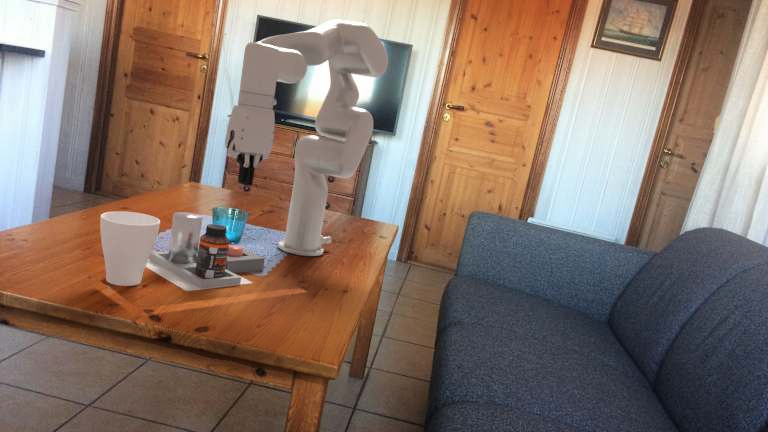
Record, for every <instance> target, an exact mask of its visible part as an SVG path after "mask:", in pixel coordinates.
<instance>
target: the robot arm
mask: <svg viewBox="0 0 768 432" xmlns="http://www.w3.org/2000/svg"><path fill="white" fill-rule="evenodd" d="M327 61H328V69H329V77H330V78H329V79H330V84H329V88H328V92H327V93H326V96H325V98H324V100H323V103H322V104H321V106H320V109H319V111H318V113H317V115H316V117H315V121H314V129H315V130H316V132H317V133H318V134H319V135H314V134H311V135H304V136H302V137H300V139H299V140H298V141H297V142H296V145H295V148H294V178H293V186H292V192H291V198H290V204H289V210H288V215H287V221H286V222H287V224H286V229H285V236H284V239H282V240H280V241H278V243H277V248H278V249H280V250H281V251H283V252H285V253H289V254H293V255H297V256H303V257H318V256H322V255H323V254H324V252H325V249H324V248H323V246H322V245H323V244H331V243H332V237H331V236H324V235H322V230H323V224H324V223H323V222H324V218H325V213H326V204H327V202H328V201H327V199H328V195H329V188H328V187H329V185H328V183H327V179H326V177H325V175H327V176H331V177H335V178H339V179H340V178H341V179H350V178H351V177H352V176H354V175H355V173H356V171H357V169H359V165H360V163H361V160H362V159H363V156H364V154H365V152H366V149H367V147H368V146H369V143H370V140H371V138H372V135H373V130H374V118H373V116H372V115H373V114H371V113H370V111H369V110H366V109H365V108H360V107H356V106H357V103H358V101H359V98H360V92H359V88H358V86H357V84H356V82H355V80H354V78H353V75H357V76H358V75H359V76H365V77H369V78H378V77H381V76H383V75H384V74H385V73H386V71H387V68H388V65H389V56H388V52H387V50H386V47H385V45H384V44H383V42H382V41H381V40H380V37H379V36H378V35H377V34H376V32H375V31H374V30H373V29H372V28H371V27H370V26H369V25H367V24H366V23H362V22H357V21H350V20H342V19H330V20H327V21H325V22H323V23H320V24H318V25H316V26H314V27H312V28H309V29H308V30H305V31H297V32H293V33H292V32H290V33H285V34H278V35H273V36H269V37H266V38H263V39H261V40H259V41H255V42H248V43H247V44H246V45H245V48H244V54H243V61H242V69H241V77H240V86H239V93H238V100H237V104H234V105H233V108H232V111H231V112H230V117H229V120H228V124H227V127H226V128H227V129H226V134H225V141H224V146H225V147H224V148H225V149H227V153H226V156H228V157H230V158H233V159H234V160H235V161H236V163H237V165H238V166H239V168H238V176H237V182H238V183H239V184H241V185H244V186H253V184H254V183H253V182H254V177H255V171H256V170H255V169H257V168H258V166H259V164H260V163H261V162H262V161H265V160H269V159H270V154H271V152H272V150H273V146H274V140H275V131H276V130H275V128H276V127H275V125H276V119H275V110H273V109H274V106H276V105H277V103H278V102H277V101H278V100H277V99H276V98H275V95H276V87H277V82H278V83H280V82H281V83H283V84H296V83H298V82H300V81H302V80H303V79H304V77H306V73H307V70H308V67H312V66H319V65H322V64H324V63H325V62H327ZM320 135H321V136H320Z"/></svg>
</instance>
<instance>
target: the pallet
mask: <svg viewBox="0 0 768 432" xmlns="http://www.w3.org/2000/svg"><path fill="white" fill-rule="evenodd" d="M168 253H169V251H164V252H163V251H161V252H160V251H159V252H151V255H150V257H149V259H148V262H147V264H146V267H145V268H147V269H149V270H150V271H152V272H154V273H155V274H157V275H158V276H160V277H162V278H163V279H165V280H167V281H168V282H170V283H172V284H174V285H175V286H177V287H179V288H180V289H182V290H183V291H185V292H191V291H192V292H193V291H199V290H207V289H215V288H225V287H226V288H227V287H231V286H232V287H233V286H241V285H250V284H253V283H254V282H252V281H250V280H248V279H247V278H245V277H243V276H240V275H239V274H237V273H232V272H230V271H228V270H226V269H225V274H224V277H222V278H212V279H201V278H200V277H198V276H196V275H195V270H196V263H197V262H196V263H188V264H174V263H173V262H171V261H169V260H168ZM197 256H198V255H197Z"/></svg>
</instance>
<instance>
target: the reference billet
mask: <svg viewBox="0 0 768 432" xmlns="http://www.w3.org/2000/svg"><path fill="white" fill-rule="evenodd" d="M203 218H204V217H203V216H202V215H200V214H199V213H198V214H197V213H193V212H185V211H184V212H181V211H180V212H179V211H178V212H173V215H172V220H171V221H172V223H171V228H170V229H171V231H170V238H169V239H170V240H169V245H168V246H169V247H168V252H169V253H168V260H169V261H171V262H173V263H174V264H188V263H196V262H197V255H198V249H199V243H200V237H201V230H202V224H203Z"/></svg>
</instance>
